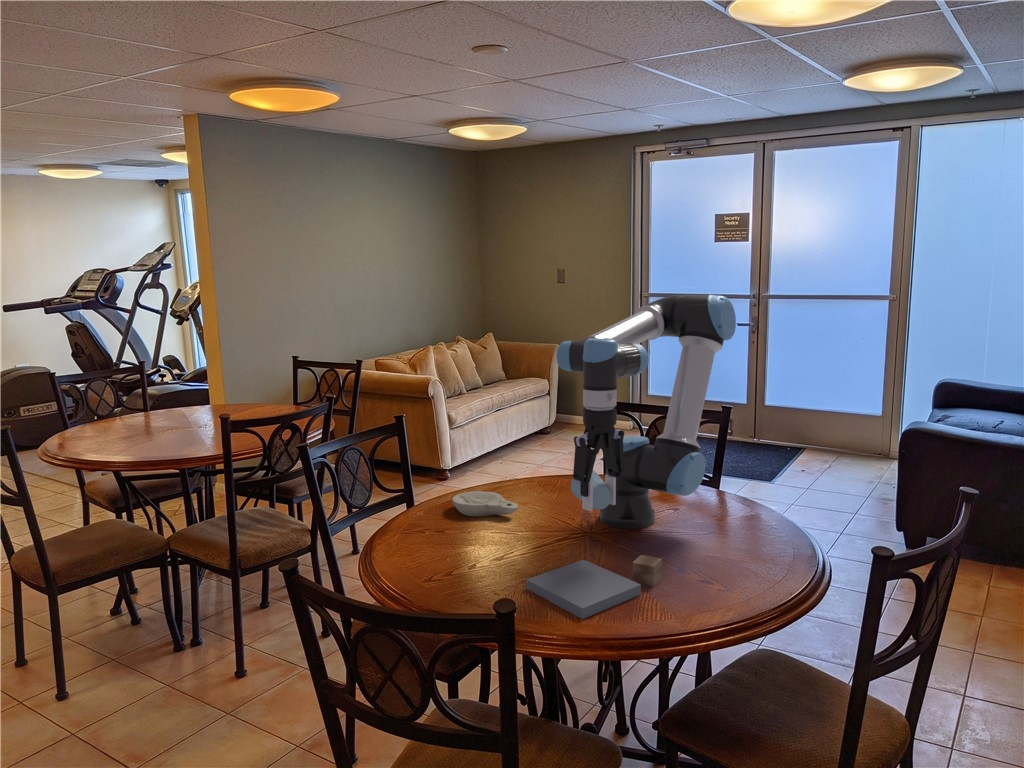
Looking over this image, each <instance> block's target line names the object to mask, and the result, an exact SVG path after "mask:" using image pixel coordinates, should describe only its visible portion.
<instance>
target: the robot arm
mask: <svg viewBox="0 0 1024 768" xmlns="http://www.w3.org/2000/svg"><path fill="white" fill-rule="evenodd" d="M736 325H737V317H736V312H735V308H734V306H733V303H732V302H731V300H730V299H729V298H728V297H727V296H723V295H717V294H716V295H715V294H707V295H705V294H700V295H699V294H674V295H669V296H665V297H662V298H659V299H656V300H653V301H652V302H648V303H646V304H644V305H643V306H640V307H639V308H637V309H636V311H635V313H634V314H632V315H630V316H628V317H625V318H624V319H622V320H620V321H618V322H616V323H613V324H612V325H610V326H607V327H606V328H604V329H602V330H599V331H597V332H594V333H593V334H591V335H589V336H587V337H585V338H583V339H580V340H576V341H575V340H564V341H562V342H561V343H560V345H558V347H557V349H556V356H555V357H556V364H557V366H558V367H559V368H560V369H561V370H563V371H567V372H571V373H580V374H581V373H583V385H582V386H583V387H582V390H583V391H582V406H583V407H584V408H583V409H582V423H583V425H584V431H583V434H582V435H580V436H574V438H573V442H574V447H575V449H574V457H573V459H574V460H573V474H572V479H574V480H577V481H580V494H581V496H582V500H581V502H582V503H581V508H582V510H586V511H588V512H593V511H594V508H593V483H592V482H590V479H591V475H592V471H594V466H595V463H596V459H597V455H598V454H599V453H600V451H602V455H603V460H604V462H605V475H604V476H605V477H604V480H605V481H604V483H605V485H606V486H607V487H608V489H609V490H610V492H611V496H612V497H611V502H610V504H609V505H608V506H607V507H606V508H604V509H599V521H600V523H601V524H603V525H604V526H608V527H610V528H612V529H613V528H614V529H618V530H619V529H621V530H639V529H644V528H649V527H650V526H652V525H653V524H654V523H655V522H656V513H655V509H654V508H653V505H652V501H651V497H650V493H649V491H650V490H651V491H657V492H662V493H665V494H668V495H672V496H682V497H687V496H690V495H692V494H693V493H694V492H695V491H697V490H698V489H699V487H700V485H701V483H702V481H703V479H704V476H705V472H706V465H705V464H706V458H705V456H704V455H703V454H702V453H700V452H701V446H700V444H699V443H698V441H697V437H698V433H699V428H700V424H701V420H702V414H703V410H704V406H705V405H704V404H705V402H706V396H707V391H708V386H709V384H710V383H709V382H710V378H711V374H712V368H713V364H714V360H715V355H716V353H717V352H719V351H720V350H721V351H722V349H723V346H724V342H725V341H728V340H731V339H732V338H733V336H734V334H735V332H736V327H737V326H736ZM660 337H663V338H664V337H671V338H673V337H674V338H678V342H679V344H680V345H681V347H682V349H681V353H680V357H679V361H678V366H677V370H676V375H675V380H674V384H673V388H672V393H671V397H670V402H669V406H668V411H667V414H666V419H665V424H664V427H663V428H664V429H663V432H662V433H661V434H659V435H658V436H656V438H655V442H654V445H652V444H650V440H649V438H648V437H647V436H641V435H638V436H637V435H635V436H625V431H624V430H622V429H618V428H617V429H616V428H615V426H616V424H617V417H618V416H617V408H616V407H617V404H618V403H617V400H618V399H617V396H618V395H617V394H618V393H617V392H618V390H617V389H618V388H617V387H618V379H621V378H627V377H635V376H637V375H640V374H642V373H643V372H645V371H646V369H647V368H648V366H649V361H650V358H649V353H648V351H647V350H646V348H645V347H644V346H643V345H641V343H643V342H645V341H646V340H649V341H651V340H656V339H658V338H660ZM585 476H586V477H585Z"/></svg>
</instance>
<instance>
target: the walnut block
mask: <svg viewBox="0 0 1024 768" xmlns="http://www.w3.org/2000/svg"><path fill="white" fill-rule="evenodd" d="M662 579H663V558H660V557H655V556H650V555H645V554H640V555H639V556H638V557H637V558H635V560H634V561H632V581H634V582H636V583H638V584H641V585H644V586H649V587H652V588H655V586H656V585H658V583H659V582H660V581H661V580H662Z"/></svg>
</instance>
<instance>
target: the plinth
mask: <svg viewBox="0 0 1024 768" xmlns="http://www.w3.org/2000/svg"><path fill="white" fill-rule="evenodd" d="M525 584H526V590H528V591H529V590H530V591H529V592H531V591H532V592H531V593H533V592H534V593H533V594H535V593H536V594H535V595H537V594H538V595H537V596H539V597H541V598H542V597H543V598H542V599H544V598H545V599H544V600H546V599H547V600H546V601H548V600H549V601H548V602H550V603H551V604H554V605H555V606H557V607H560V608H561V609H563V610H564V611H567V612H568V613H571V614H572V615H574V616H576V617H578V618H580V619H581V620H584V619H587V618H588V617H591V616H593V615H596V614H598V613H601V612H603V611H605V610H608V609H611V608H612V607H615V606H617V605H619V604H622V603H624V602H627V601H629V600H631V599H634V598H636V597H638V596H641V595H642V584H639V583H636V582H634V581H633V579H632V580H631V579H629V578H628V577H625V576H622V575H620V574H618V573H615V572H613V571H611V570H609V569H606V568H604V567H601V566H599V565H598V564H594V563H592V562H590V561H587V560H585V559H581V560H577V561H575V562H572V563H569V564H566V565H563V566H561V567H558V568H555V569H552V570H550V571H547V572H544V573H541V574H538V575H535V576H533V577H530V578H527V579H526V583H525Z"/></svg>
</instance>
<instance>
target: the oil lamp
mask: <svg viewBox="0 0 1024 768" xmlns="http://www.w3.org/2000/svg"><path fill="white" fill-rule="evenodd" d="M451 501H452V503H453V506H454V507H455V508H456V510H457V511H458V512H459V513H460V514H462V515H465V516H467V517H487V516H495V515H496V516H497V515H499V516H500V515H501V516H503V515H511V514H514V513H515V512H516V511H517V510H518V508H519V504H517V503H516V502H513V501H510V500H506V498H505V497H503V496H502V495H501V494H499V493H498V492H493V491H484V490H483V491H481V490H472V491H466V492H461V493H459V494H458V493H457V494H456V495H454V496H453V497H452V500H451Z"/></svg>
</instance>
